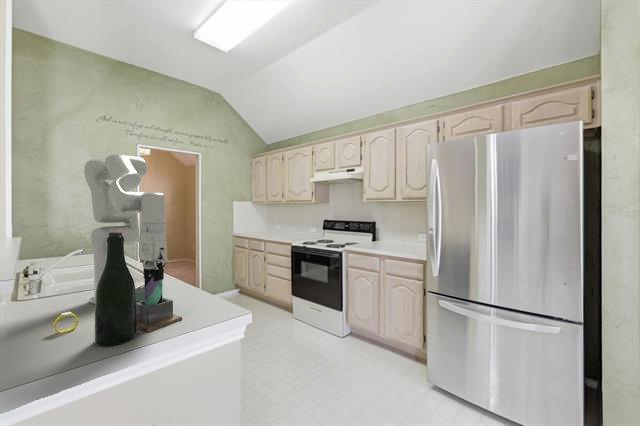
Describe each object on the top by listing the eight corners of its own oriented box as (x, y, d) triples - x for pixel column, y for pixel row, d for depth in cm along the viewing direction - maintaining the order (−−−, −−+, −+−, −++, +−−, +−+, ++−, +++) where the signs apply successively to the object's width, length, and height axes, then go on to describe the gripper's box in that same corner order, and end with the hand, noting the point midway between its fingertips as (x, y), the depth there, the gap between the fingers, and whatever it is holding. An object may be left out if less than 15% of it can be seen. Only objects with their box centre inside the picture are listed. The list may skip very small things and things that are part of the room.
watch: (76, 328, 95) (77, 310, 96) (78, 330, 94) (80, 312, 94) (52, 332, 91) (53, 314, 91) (53, 335, 89) (55, 316, 89)
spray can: (142, 313, 100) (142, 257, 100) (159, 309, 104) (159, 255, 104) (147, 317, 97) (147, 259, 96) (164, 313, 101) (164, 257, 100)
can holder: (125, 323, 99) (125, 303, 99) (159, 312, 109) (159, 294, 109) (148, 332, 92) (147, 311, 92) (182, 319, 102) (182, 300, 102)
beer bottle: (90, 340, 86) (89, 232, 86) (130, 328, 95) (129, 229, 94) (100, 351, 80) (98, 234, 79) (141, 338, 88) (141, 232, 87)
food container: (142, 316, 104) (142, 289, 104) (128, 315, 106) (128, 288, 105) (166, 305, 117) (166, 281, 116) (153, 304, 118) (153, 280, 118)
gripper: (128, 227, 101) (129, 277, 101) (156, 230, 92) (157, 285, 93) (150, 225, 107) (150, 273, 108) (178, 228, 99) (178, 280, 99)
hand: (153, 278), depth 100 cm, fingers closed on spray can, 5 cm apart
